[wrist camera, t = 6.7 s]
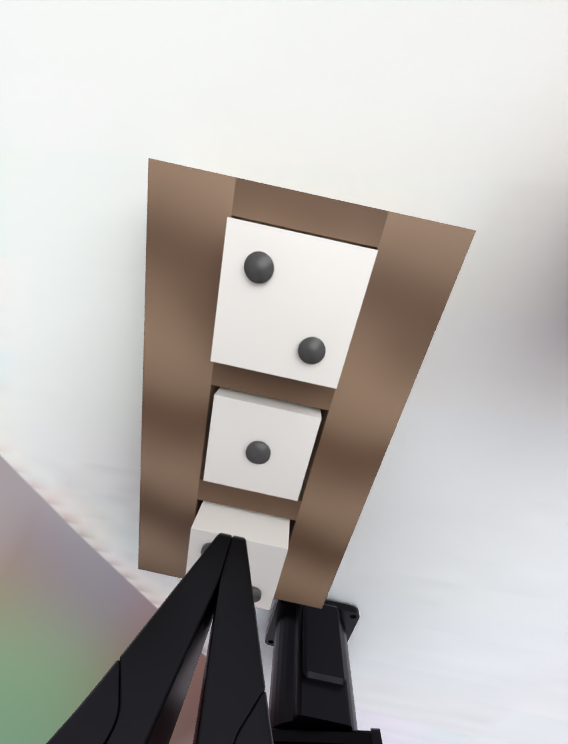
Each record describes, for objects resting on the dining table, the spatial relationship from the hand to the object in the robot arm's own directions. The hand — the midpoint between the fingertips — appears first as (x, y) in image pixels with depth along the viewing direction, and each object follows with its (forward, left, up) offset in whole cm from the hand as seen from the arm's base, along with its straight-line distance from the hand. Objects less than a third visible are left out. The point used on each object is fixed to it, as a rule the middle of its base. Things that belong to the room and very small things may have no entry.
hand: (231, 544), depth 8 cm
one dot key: (0, 0, -7) cm, 7 cm away
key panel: (0, 0, -8) cm, 8 cm away
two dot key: (+7, 0, -6) cm, 9 cm away
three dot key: (-7, 0, -6) cm, 9 cm away
